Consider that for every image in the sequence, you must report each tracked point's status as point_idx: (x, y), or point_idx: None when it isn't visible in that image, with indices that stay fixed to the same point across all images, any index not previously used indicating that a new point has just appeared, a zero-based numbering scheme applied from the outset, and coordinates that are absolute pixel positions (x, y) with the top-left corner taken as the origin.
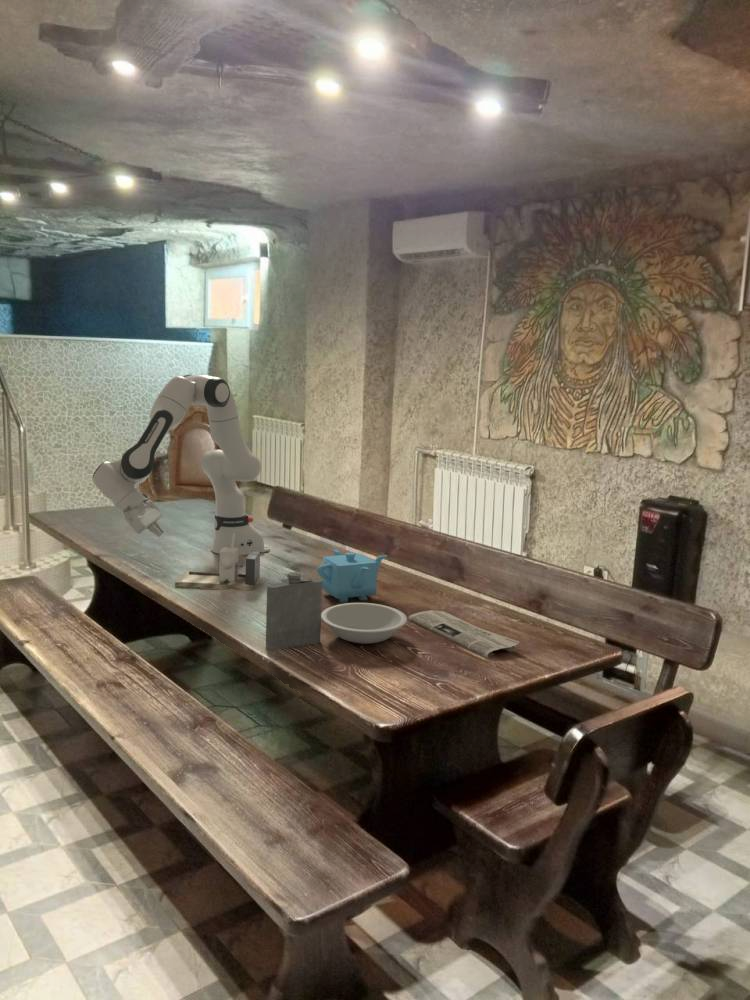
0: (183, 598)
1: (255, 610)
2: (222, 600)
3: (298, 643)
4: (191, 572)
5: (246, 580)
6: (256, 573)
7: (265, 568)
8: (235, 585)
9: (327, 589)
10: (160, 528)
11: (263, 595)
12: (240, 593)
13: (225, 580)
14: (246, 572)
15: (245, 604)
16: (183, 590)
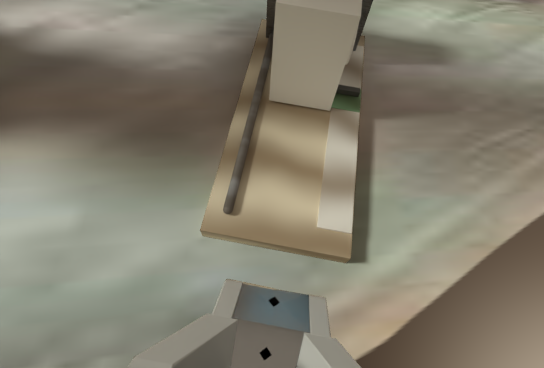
0: (477, 222)
1: (516, 51)
2: (462, 114)
3: None
4: (234, 199)
5: (359, 38)
6: None
7: (139, 13)
8: (362, 74)
9: None
10: (233, 317)
11: (395, 31)
12: (388, 74)
13: (350, 89)
14: (367, 14)
15: (478, 67)
16: (387, 228)
